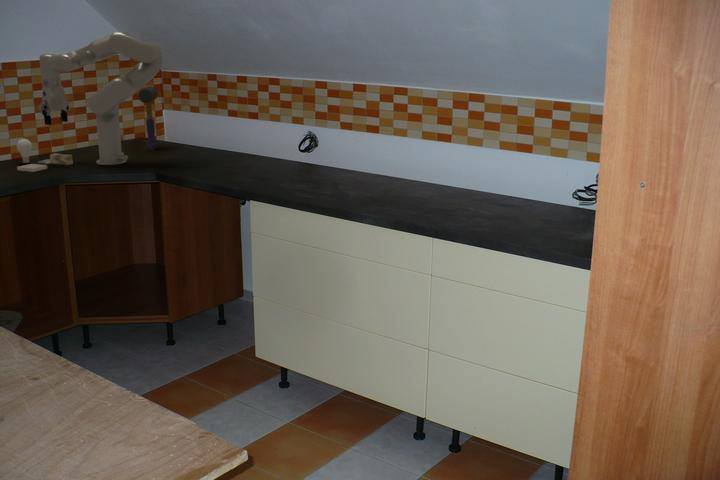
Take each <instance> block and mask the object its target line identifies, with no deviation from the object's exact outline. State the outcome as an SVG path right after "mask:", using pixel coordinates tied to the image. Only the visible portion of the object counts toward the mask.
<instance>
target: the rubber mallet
mask: <svg viewBox="0 0 720 480" xmlns="http://www.w3.org/2000/svg"><path fill="white" fill-rule="evenodd" d="M158 96H159V92H158V90H157V89H156V88H155V87H154V86H143V87H141V88H140V89H139V90H138V93H137V98H138V100H139V101H140V102H141V103H143V104H145V107H146V108H145V109H146V125H145V126H146V134H147V148H148V149H149V150H151V151H154V150H156V148H157V143H156V135H155V134H156V133H155V132H156V127H155V121H154V119H153V108H152V103H153V102H154V101H155V100H156V99H157V98H158Z"/></svg>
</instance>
